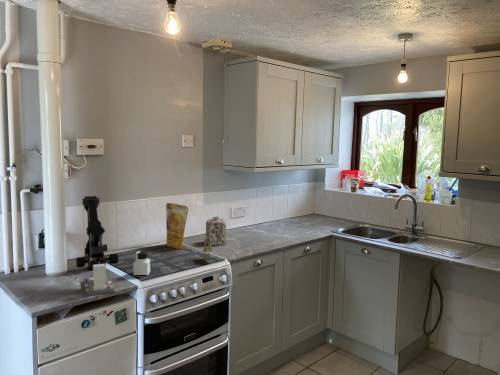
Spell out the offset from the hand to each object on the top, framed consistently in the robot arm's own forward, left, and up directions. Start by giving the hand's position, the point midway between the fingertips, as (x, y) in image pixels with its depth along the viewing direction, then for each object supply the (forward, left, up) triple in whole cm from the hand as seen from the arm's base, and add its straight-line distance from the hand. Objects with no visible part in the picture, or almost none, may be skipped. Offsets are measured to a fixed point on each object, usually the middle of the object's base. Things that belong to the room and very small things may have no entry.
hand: (98, 276), depth 189 cm
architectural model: (+3, +66, -7) cm, 67 cm away
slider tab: (+2, -1, -5) cm, 5 cm away
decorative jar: (-20, +97, -7) cm, 100 cm away
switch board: (-4, +2, -6) cm, 8 cm away
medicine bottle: (-4, +26, -7) cm, 28 cm away
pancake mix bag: (-33, +73, -7) cm, 80 cm away
